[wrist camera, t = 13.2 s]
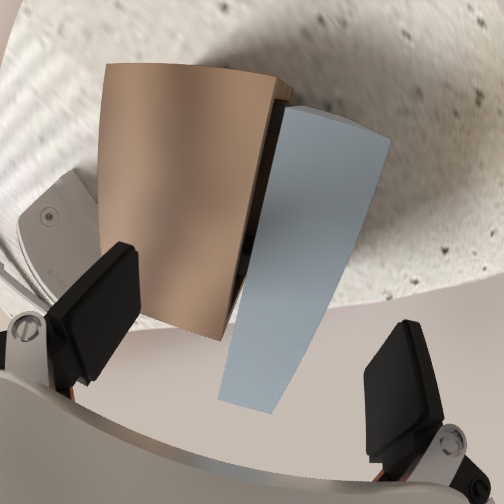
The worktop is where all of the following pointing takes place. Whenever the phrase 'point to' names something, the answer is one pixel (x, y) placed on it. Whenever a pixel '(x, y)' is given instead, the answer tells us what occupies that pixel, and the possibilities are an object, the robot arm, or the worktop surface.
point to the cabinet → (187, 181)
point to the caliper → (23, 290)
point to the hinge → (60, 235)
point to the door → (300, 248)
